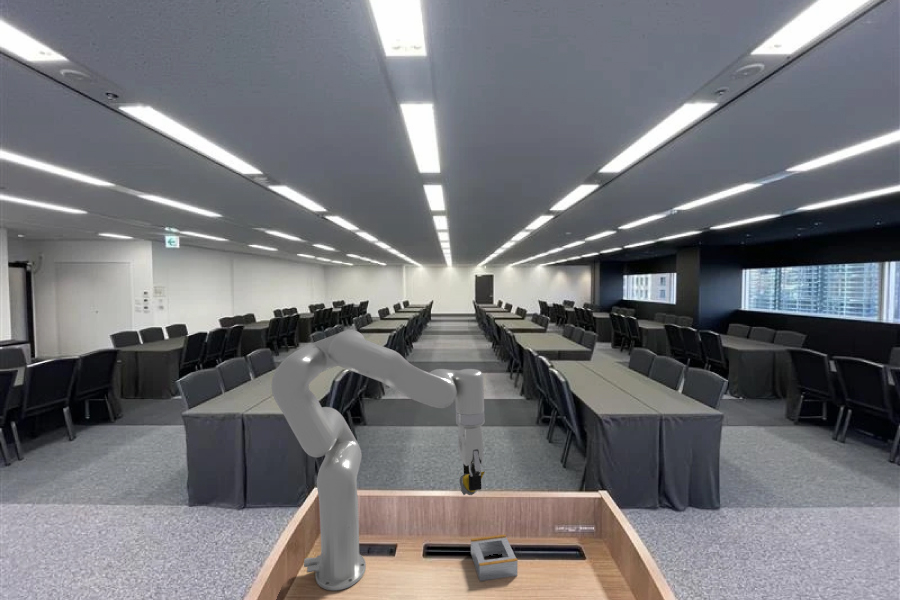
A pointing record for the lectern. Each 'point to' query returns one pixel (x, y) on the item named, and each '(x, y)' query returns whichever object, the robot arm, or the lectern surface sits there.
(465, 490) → the drill bit
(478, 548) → the block
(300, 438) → the robot arm
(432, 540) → the lectern surface
